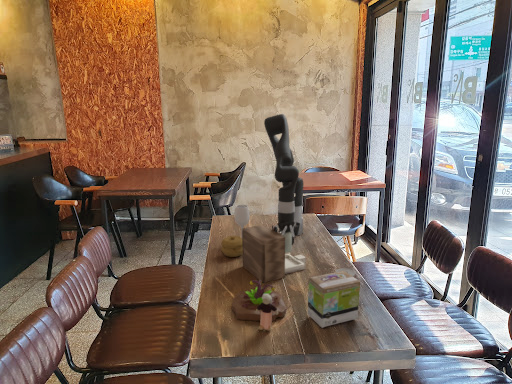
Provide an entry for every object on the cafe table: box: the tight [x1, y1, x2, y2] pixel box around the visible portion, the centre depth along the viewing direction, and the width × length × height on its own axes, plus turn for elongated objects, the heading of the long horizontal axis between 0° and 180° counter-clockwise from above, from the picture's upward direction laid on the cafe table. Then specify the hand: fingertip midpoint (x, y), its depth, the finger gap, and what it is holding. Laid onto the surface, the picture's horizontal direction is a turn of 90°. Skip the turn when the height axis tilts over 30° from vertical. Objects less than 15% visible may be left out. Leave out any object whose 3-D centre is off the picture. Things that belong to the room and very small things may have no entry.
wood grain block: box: [242, 224, 286, 284], centre depth 167 cm, size 11×19×18 cm, turn 28°
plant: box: [231, 279, 287, 322], centre depth 139 cm, size 20×20×11 cm
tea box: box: [306, 271, 361, 329], centre depth 131 cm, size 15×10×15 cm
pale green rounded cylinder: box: [281, 231, 293, 254], centre depth 172 cm, size 5×5×9 cm
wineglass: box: [233, 204, 251, 238], centre depth 201 cm, size 9×9×21 cm
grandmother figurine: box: [255, 294, 278, 331], centre depth 125 cm, size 8×4×13 cm, turn 90°
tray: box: [285, 253, 307, 275], centre depth 175 cm, size 16×14×3 cm
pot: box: [220, 235, 243, 258], centre depth 187 cm, size 12×12×10 cm
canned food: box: [335, 267, 357, 279], centre depth 144 cm, size 8×8×11 cm
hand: (285, 245), depth 172 cm, fingers closed on pale green rounded cylinder, 5 cm apart
